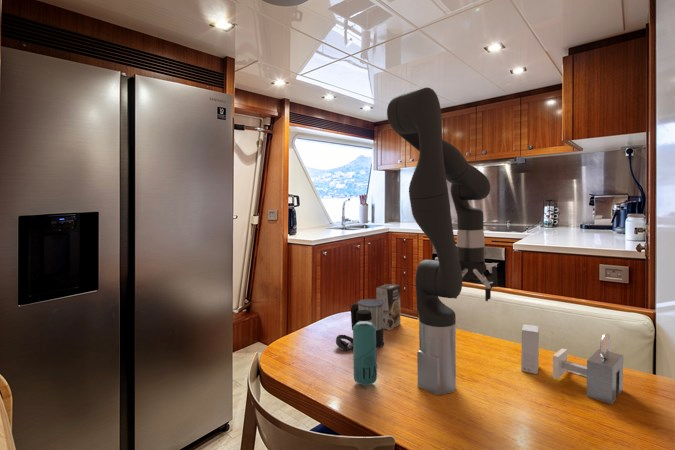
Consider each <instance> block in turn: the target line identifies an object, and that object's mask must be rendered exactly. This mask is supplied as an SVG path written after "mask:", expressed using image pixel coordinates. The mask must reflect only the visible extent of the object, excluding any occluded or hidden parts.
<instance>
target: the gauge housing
mask: <svg viewBox="0 0 675 450" xmlns="http://www.w3.org/2000/svg"><path fill="white" fill-rule="evenodd" d="M611 346H612V337H611V335H610V334H609V333H606V332H604V333H603V334H602V336H601V339H600V346H599V348H598V349H597V350H596V351H595V352H594V353H593V354H592V355H591V356H590V357H589V358H588V359H587V360H586V367H587V375H584V374H580V373H577V372H574V371H570V370H568V371H567V372H566V373H570V374H574V375H576V376H580V377H583V378H586V397H589V398H591V399H594V400H598V401H599V402H603V403H606V404H609V405H613V404H614V403H615V401H616V399H617V395H618V396H619V395H621V393H622V392H623V390H624V389H623V388H624V387H623V386H624V385H623V383H624V381H623V380H624V354H619V353H617V352H611V348H612V347H611Z"/></svg>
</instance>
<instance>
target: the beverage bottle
mask: <svg viewBox="0 0 675 450" xmlns="http://www.w3.org/2000/svg"><path fill="white" fill-rule="evenodd" d="M356 319H357V320H359V321H361V322H358V323H356V324H355V325H354V326H353V330H352V338H353V350H352V351H353V354H352V355H353V356H352V360H353V362H352V364H353V381H354V382H355V383H357V384H359V385H363V386H365V385H366V386H369V385H372V384H375V383H376V381H377V379H378V370H377V369H378V364H377V359H378V358H377V357H378V355H377V348H376V346H377V345H376V344H377V340H376V327H375V326H374V325H373V324H372V323H371V322H367V321H369V320H371V319H372V316H371V311H369V310H359V311H357V316H356Z"/></svg>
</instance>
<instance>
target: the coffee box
mask: <svg viewBox="0 0 675 450" xmlns="http://www.w3.org/2000/svg"><path fill="white" fill-rule="evenodd" d="M375 296H376V298H375V299H377V300H381V301H383V302H384V304H383V330H386V329H387V331H391V330H393V329H395V328H396V327H398V326H400V325H401V324H400V323H401V285H399V284H393V283H390V284H389V283H386V284H384V285H380V286H377V287H376V293H375ZM399 324H400V325H399ZM394 327H395V328H394Z"/></svg>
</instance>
